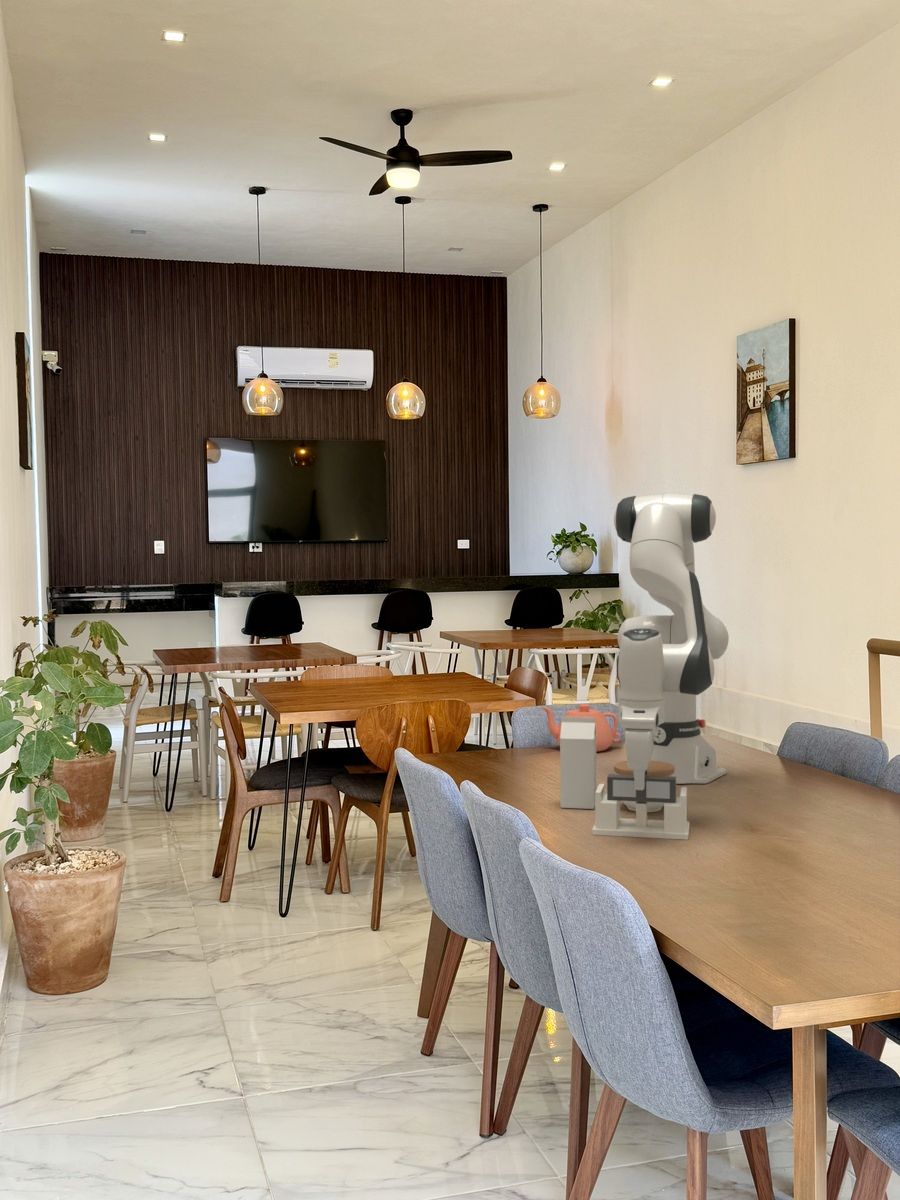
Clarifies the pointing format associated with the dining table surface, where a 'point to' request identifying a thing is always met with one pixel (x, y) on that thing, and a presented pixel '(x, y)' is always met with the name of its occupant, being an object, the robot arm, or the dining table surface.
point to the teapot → (602, 727)
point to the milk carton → (578, 762)
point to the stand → (640, 819)
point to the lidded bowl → (653, 770)
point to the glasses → (653, 790)
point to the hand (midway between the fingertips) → (641, 784)
